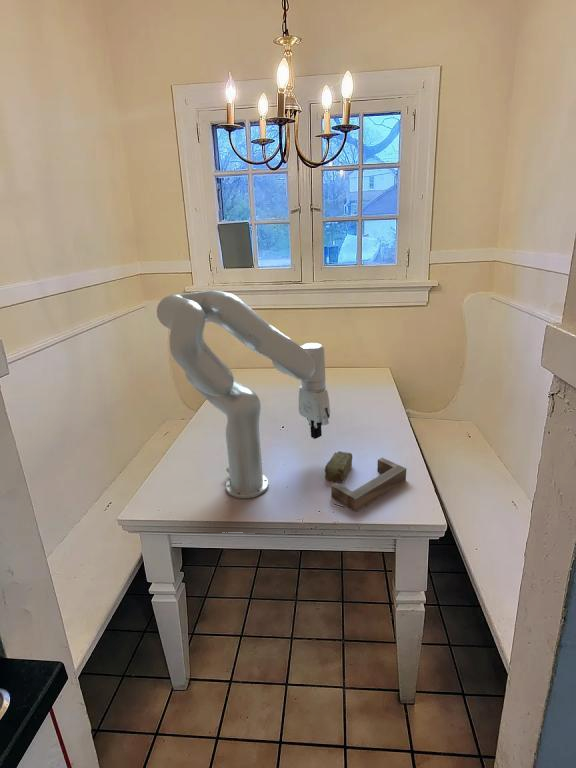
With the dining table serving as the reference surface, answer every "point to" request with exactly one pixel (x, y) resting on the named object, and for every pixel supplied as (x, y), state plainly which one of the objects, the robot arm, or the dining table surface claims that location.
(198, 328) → the robot arm
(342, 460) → the stone block
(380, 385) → the dining table surface
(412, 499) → the dining table surface
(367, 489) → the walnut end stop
